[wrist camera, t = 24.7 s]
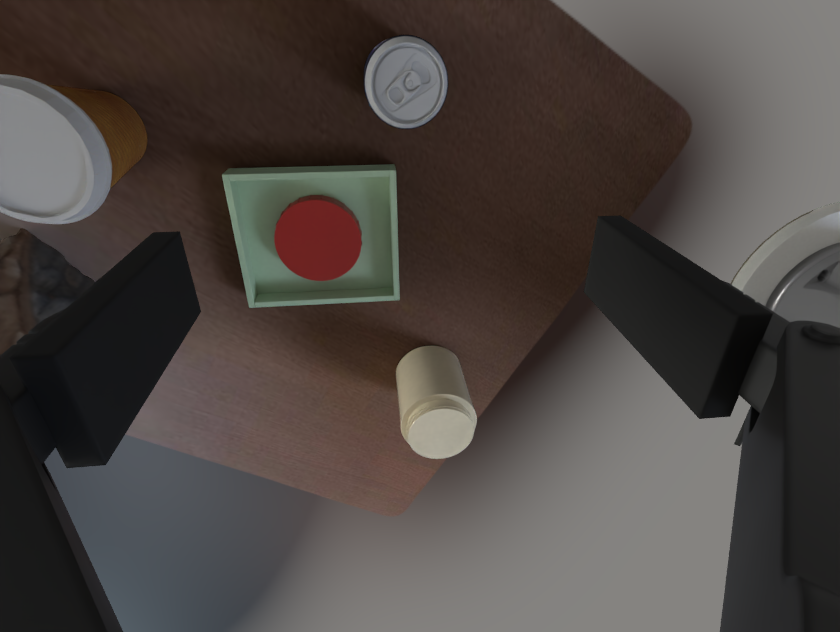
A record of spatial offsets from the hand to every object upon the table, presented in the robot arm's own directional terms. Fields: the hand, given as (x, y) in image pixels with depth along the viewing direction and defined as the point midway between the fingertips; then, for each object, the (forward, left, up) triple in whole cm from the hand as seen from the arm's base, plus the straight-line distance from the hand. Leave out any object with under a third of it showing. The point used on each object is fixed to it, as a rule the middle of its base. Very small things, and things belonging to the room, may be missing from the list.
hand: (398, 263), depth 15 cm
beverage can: (-2, -4, -32) cm, 32 cm away
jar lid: (+6, +10, -30) cm, 32 cm away
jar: (-5, +28, -32) cm, 43 cm away
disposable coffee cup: (+23, 0, -32) cm, 39 cm away
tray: (+6, +10, -32) cm, 34 cm away
